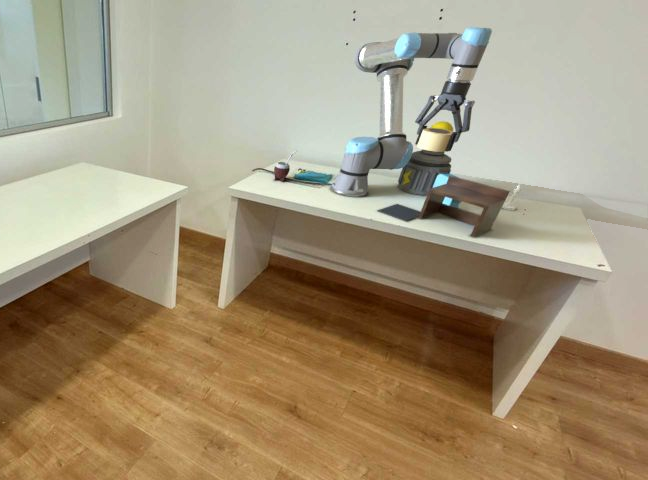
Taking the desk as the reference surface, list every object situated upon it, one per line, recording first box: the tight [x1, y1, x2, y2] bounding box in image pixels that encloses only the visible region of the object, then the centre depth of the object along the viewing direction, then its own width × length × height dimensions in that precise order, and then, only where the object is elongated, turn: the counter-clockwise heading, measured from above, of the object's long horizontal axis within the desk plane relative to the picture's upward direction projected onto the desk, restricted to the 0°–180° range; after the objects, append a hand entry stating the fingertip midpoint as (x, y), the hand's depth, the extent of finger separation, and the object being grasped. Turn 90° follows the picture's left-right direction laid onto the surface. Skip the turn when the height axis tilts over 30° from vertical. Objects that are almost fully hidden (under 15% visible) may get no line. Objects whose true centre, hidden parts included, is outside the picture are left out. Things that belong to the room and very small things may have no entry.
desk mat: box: [377, 203, 421, 222], centre depth 165 cm, size 12×14×1 cm
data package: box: [433, 173, 462, 208], centre depth 169 cm, size 12×4×12 cm, turn 6°
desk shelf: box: [417, 175, 511, 238], centre depth 152 cm, size 20×13×15 cm, turn 32°
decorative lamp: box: [397, 120, 454, 197], centre depth 181 cm, size 19×19×30 cm
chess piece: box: [501, 184, 521, 211], centre depth 168 cm, size 5×5×10 cm
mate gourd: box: [273, 149, 299, 183], centre depth 194 cm, size 8×8×15 cm
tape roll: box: [416, 127, 454, 153], centre depth 148 cm, size 10×10×6 cm
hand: (432, 147), depth 150 cm, fingers closed on tape roll, 10 cm apart
